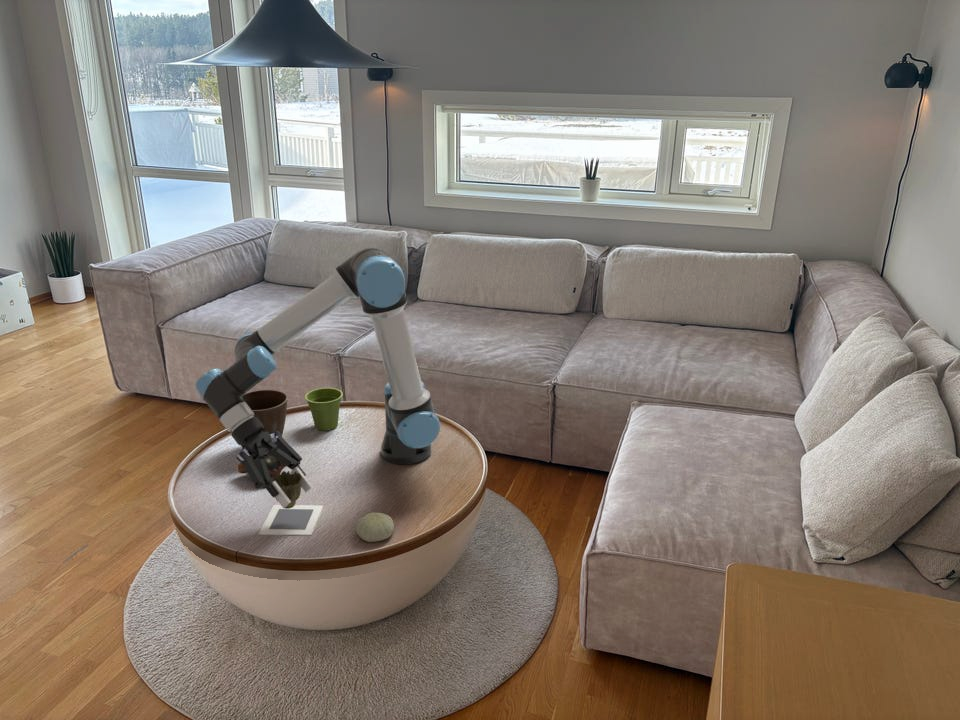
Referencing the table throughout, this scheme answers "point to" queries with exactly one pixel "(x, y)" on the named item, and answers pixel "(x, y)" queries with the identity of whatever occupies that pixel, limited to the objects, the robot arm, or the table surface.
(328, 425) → the plant pot
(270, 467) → the decorative turtle
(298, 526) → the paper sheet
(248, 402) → the plant pot
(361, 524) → the sea urchin shell
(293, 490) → the cup
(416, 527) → the table surface
